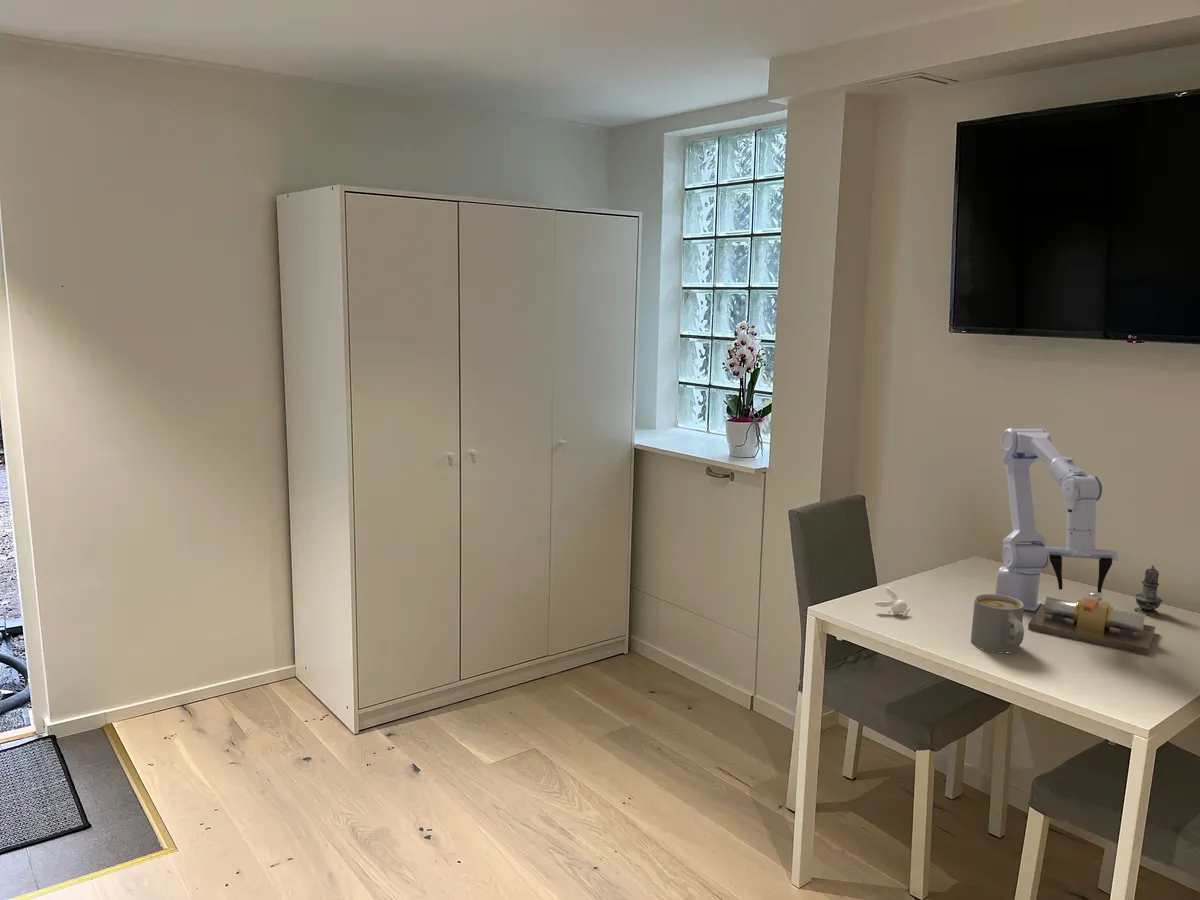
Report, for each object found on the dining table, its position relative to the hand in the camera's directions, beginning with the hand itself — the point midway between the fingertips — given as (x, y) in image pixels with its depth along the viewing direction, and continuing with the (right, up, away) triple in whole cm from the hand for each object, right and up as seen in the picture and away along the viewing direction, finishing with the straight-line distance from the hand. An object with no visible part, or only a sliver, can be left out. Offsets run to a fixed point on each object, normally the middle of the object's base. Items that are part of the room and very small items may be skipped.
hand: (1079, 590), depth 206 cm
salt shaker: (+27, -9, +20) cm, 35 cm away
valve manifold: (+6, -11, +7) cm, 14 cm away
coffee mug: (-20, -12, -4) cm, 24 cm away
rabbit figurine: (-37, -8, +17) cm, 41 cm away
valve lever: (+4, -4, +2) cm, 5 cm away
